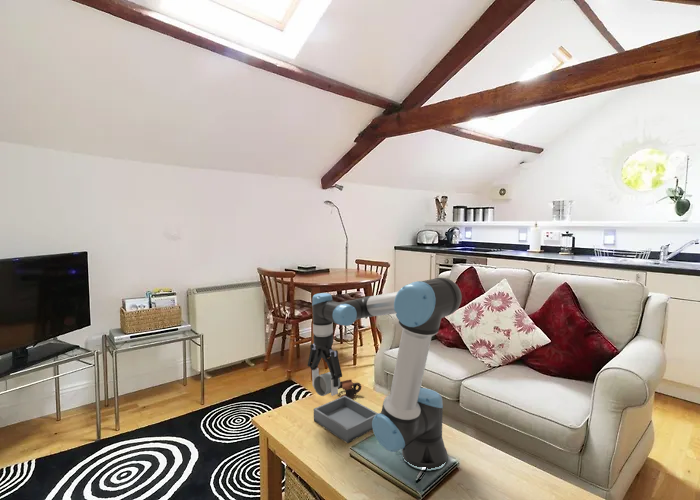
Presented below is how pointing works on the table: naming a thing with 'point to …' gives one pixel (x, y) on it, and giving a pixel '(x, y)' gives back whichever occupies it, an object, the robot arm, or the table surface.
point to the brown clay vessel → (350, 388)
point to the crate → (345, 418)
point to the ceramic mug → (323, 384)
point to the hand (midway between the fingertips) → (324, 389)
